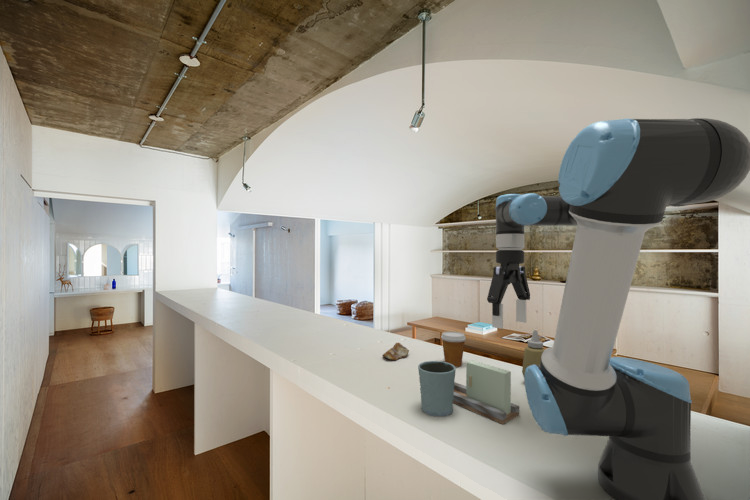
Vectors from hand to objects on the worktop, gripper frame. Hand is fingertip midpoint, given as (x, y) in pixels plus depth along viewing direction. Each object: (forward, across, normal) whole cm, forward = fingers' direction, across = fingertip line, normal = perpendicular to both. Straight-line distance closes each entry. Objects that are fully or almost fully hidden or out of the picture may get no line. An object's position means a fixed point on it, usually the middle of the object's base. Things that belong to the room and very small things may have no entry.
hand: (509, 324), depth 97 cm
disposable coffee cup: (+23, -20, -33) cm, 45 cm away
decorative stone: (+23, -10, -55) cm, 61 cm away
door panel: (+22, +6, -3) cm, 23 cm away
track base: (+23, +6, -8) cm, 25 cm away
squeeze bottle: (+23, -23, -3) cm, 33 cm away
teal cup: (+24, +17, -13) cm, 32 cm away
